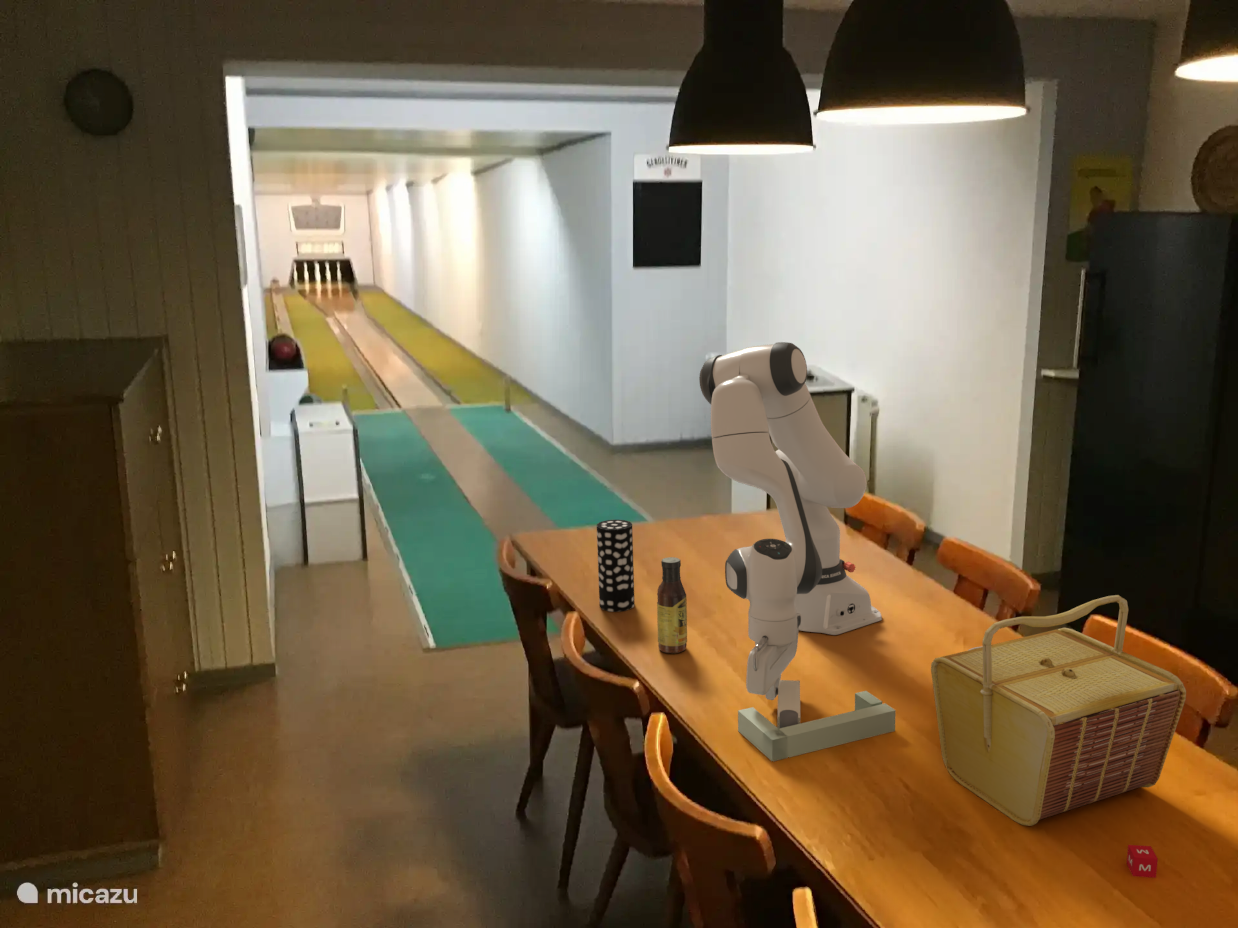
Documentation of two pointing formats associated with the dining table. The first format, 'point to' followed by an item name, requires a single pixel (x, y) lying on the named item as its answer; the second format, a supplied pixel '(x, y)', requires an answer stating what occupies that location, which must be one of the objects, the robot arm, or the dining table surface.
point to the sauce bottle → (671, 608)
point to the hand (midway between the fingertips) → (772, 697)
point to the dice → (1142, 861)
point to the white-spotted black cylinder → (615, 565)
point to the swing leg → (788, 703)
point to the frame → (817, 729)
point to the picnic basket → (1054, 717)
